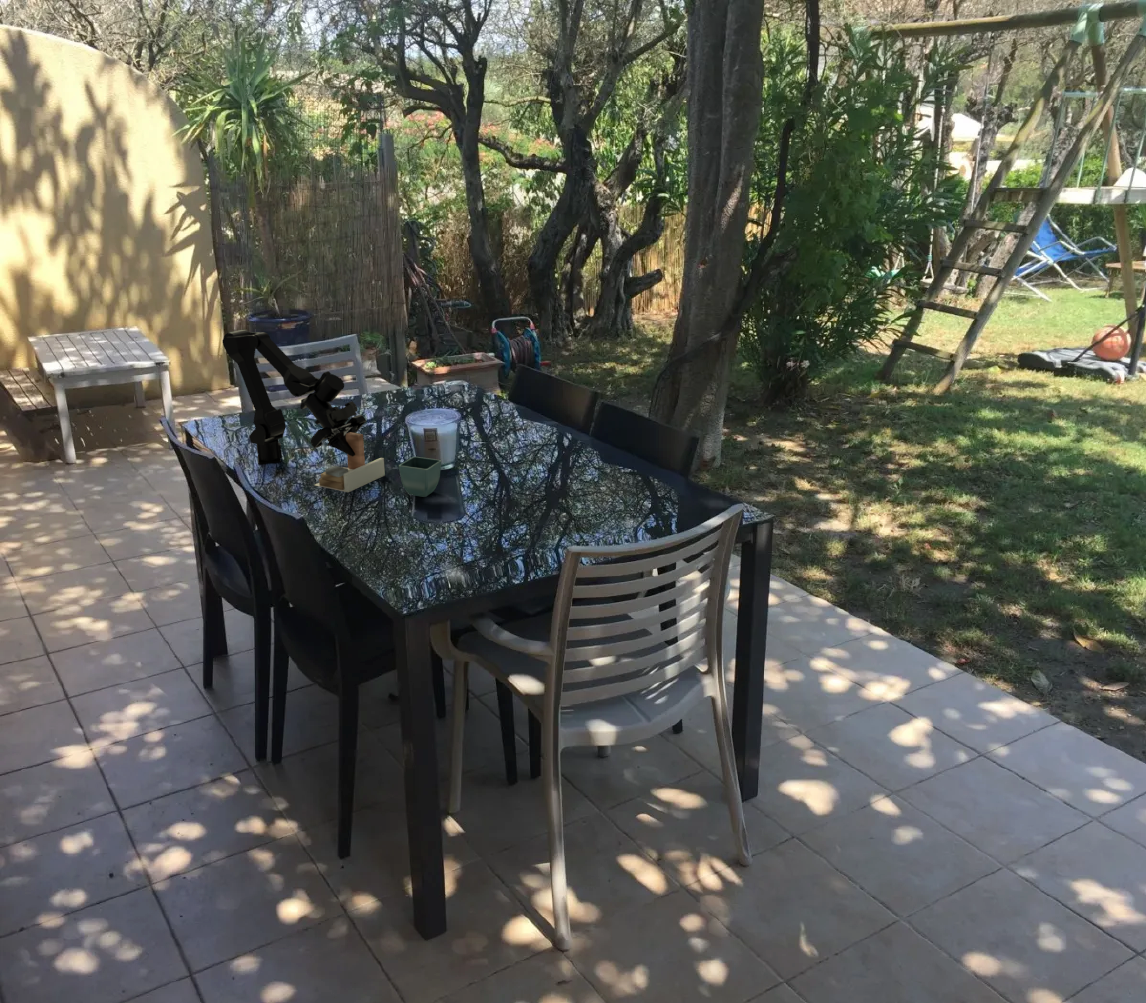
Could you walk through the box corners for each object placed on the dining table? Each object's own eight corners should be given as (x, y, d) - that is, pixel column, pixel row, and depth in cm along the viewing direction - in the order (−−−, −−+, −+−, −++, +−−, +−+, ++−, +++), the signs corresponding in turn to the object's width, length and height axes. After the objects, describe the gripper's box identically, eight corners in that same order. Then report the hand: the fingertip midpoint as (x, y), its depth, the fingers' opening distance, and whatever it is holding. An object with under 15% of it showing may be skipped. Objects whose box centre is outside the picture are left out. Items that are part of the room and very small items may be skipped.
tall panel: (348, 474, 281) (345, 433, 277) (353, 472, 283) (350, 432, 279) (361, 476, 279) (358, 436, 275) (365, 474, 281) (362, 434, 277)
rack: (314, 488, 273) (312, 467, 271) (351, 471, 287) (350, 452, 284) (348, 495, 268) (346, 474, 266) (384, 478, 282) (383, 458, 279)
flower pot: (443, 490, 273) (442, 459, 270) (428, 501, 265) (427, 469, 262) (414, 486, 276) (413, 456, 272) (399, 496, 268) (397, 465, 265)
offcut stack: (319, 485, 273) (317, 468, 271) (332, 479, 277) (330, 463, 276) (342, 490, 269) (340, 473, 268) (354, 484, 274) (353, 467, 272)
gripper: (315, 402, 267) (350, 447, 267) (359, 387, 283) (392, 429, 282) (295, 425, 274) (329, 470, 273) (339, 410, 289) (371, 451, 288)
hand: (356, 454), depth 279 cm, fingers closed on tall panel, 2 cm apart
